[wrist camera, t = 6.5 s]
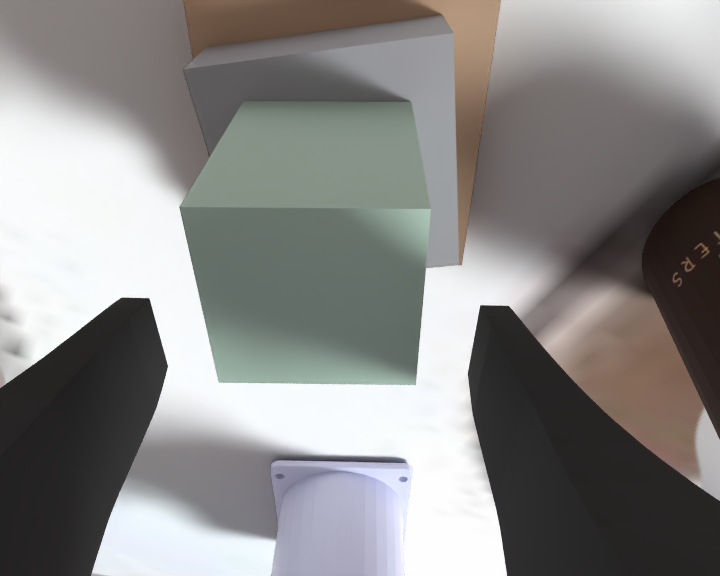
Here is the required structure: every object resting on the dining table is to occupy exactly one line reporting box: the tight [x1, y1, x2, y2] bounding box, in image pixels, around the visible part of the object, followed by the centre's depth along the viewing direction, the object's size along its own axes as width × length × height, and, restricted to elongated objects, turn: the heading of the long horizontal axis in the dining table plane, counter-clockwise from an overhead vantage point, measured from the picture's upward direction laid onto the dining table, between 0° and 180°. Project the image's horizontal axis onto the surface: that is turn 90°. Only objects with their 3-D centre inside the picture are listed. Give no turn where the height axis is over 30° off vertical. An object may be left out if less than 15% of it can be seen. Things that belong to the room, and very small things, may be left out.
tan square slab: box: [183, 0, 501, 265], centre depth 19 cm, size 9×9×2 cm
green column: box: [180, 101, 431, 385], centre depth 13 cm, size 4×4×6 cm
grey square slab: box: [183, 15, 459, 268], centre depth 17 cm, size 7×7×2 cm
